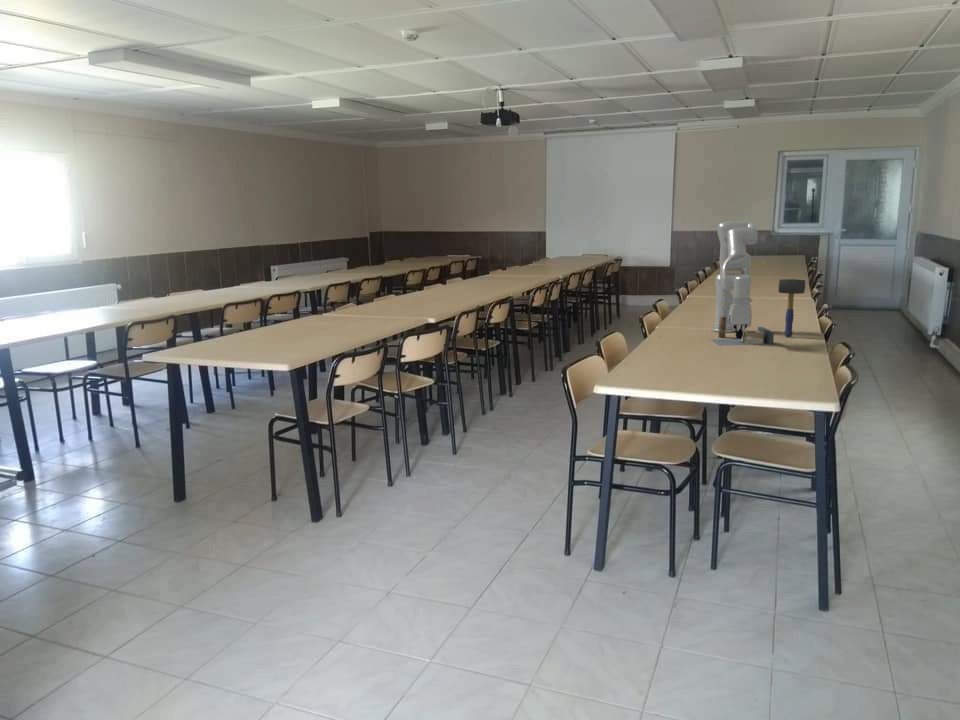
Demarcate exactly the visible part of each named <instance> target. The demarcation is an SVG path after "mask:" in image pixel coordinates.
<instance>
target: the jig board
mask: <svg viewBox="0 0 960 720" xmlns="http://www.w3.org/2000/svg"><path fill="white" fill-rule="evenodd" d="M757 330H758V331H760V332H762V333H764V339H763V343H757V344H746V343H744V342H743V341H741V339H737V338H725V339H724V338H720V339H719V338H718V339H717V338H716V339H715V338H714V339H710V341H711V342H713V343H714V344H716V345H718V346H753V345H754V346H757V345H758V346H760V345H761V346H762V345H763V346H764V345H766V346H767V345H768V346H771V345H774V341H775V340H774V337H775V331H772V330H770V329H768V328H766V327H763V326H758V327H757Z"/></svg>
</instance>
